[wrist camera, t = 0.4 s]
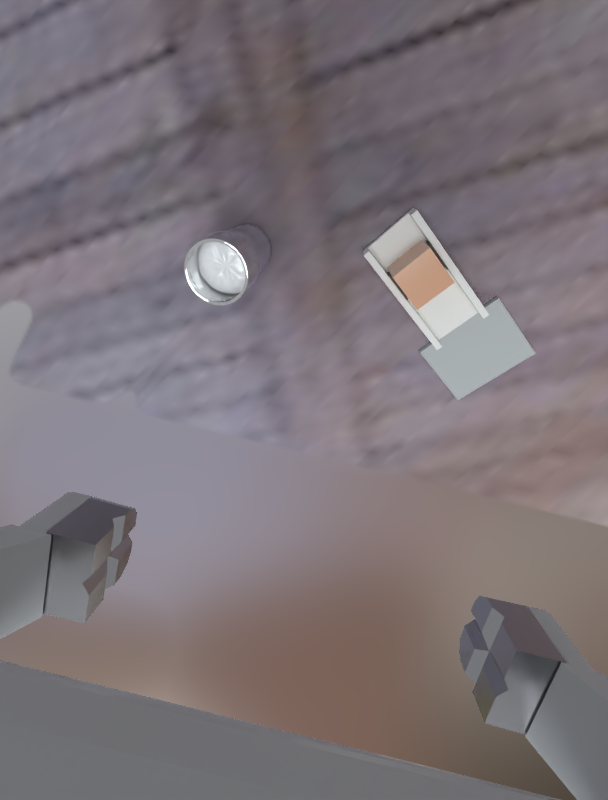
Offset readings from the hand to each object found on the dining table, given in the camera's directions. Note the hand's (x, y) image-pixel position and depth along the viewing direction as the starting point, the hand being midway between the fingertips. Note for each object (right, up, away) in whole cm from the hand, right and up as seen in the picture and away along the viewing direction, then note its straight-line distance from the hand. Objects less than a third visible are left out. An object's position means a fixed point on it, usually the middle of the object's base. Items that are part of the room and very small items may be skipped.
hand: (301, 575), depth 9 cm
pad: (+24, +11, +47) cm, 54 cm away
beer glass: (-7, +24, +43) cm, 50 cm away
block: (+14, +21, +42) cm, 49 cm away
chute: (+16, +20, +43) cm, 50 cm away
